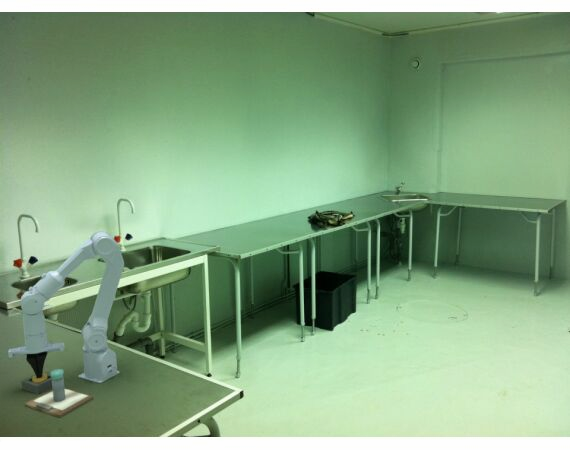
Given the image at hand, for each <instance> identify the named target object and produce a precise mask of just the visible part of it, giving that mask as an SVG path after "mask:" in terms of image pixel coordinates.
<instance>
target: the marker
mask: <svg viewBox="0 0 570 450" xmlns="http://www.w3.org/2000/svg"><path fill="white" fill-rule="evenodd" d="M50 374H51V379H52V388H51V390H52V389H53V400H54V401H55V402H60V401H63V400H64V399H65V388H66V387H65V379H64V377H65V376H64V375H65V374H64V369H61V368H56V369H54V370H51V372H50Z"/></svg>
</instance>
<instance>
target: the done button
mask: <svg viewBox="0 0 570 450" xmlns="http://www.w3.org/2000/svg"><path fill="white" fill-rule="evenodd" d="M34 375H35V374H34ZM32 376H33V375H32ZM47 379H48V378H47V374H43V376H42V378H36V375H35V376H33V377H32V381H33V382H35V383H40V382H43V381H45V380H47Z"/></svg>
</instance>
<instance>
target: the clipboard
mask: <svg viewBox="0 0 570 450" xmlns="http://www.w3.org/2000/svg"><path fill="white" fill-rule="evenodd" d="M64 388H65V399H64V400H63V401H60V402H55V401H54V400H53V389H52V388H51V389H49V391H47V392H45V393H44V392H43V394H42V393H41V394H39V396H36V397H34V398H33V399H31V400H29V401H27V402H25V403H24V406H25V407H26V408H30V409H33V410H36V411H39V412H42V413H45V414H48V415H50V416H54V417H56V418H62V417H64V416H66V415H68V414H69V413H71V412H73V411H75V410H76V409H78V408H80V407H82V406H84V405H85V404H88V402H90V401H92V400H94V396H93V395H90V394H87V393H84V392H83V393H82V392H80V391H79V392H78V391H76V390H72V389H69V388H66V387H64Z"/></svg>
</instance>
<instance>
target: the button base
mask: <svg viewBox="0 0 570 450" xmlns="http://www.w3.org/2000/svg"><path fill="white" fill-rule="evenodd" d="M43 374H47V378H48V379H47V380H45V381H43V382H40V383H35V382H33V381H32V377H33V376H35V374H34V375H32V376H30V377H29V376H28V377H27V378H25V379H22V380H21V381H20V382H21V389H22V390H23V391H27V392H30V393H34V394H37V395H41V394H42V393H44V392H45V391H47V390H51V389H52V379H51V372H50V373H49V372H45V371H43Z"/></svg>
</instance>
